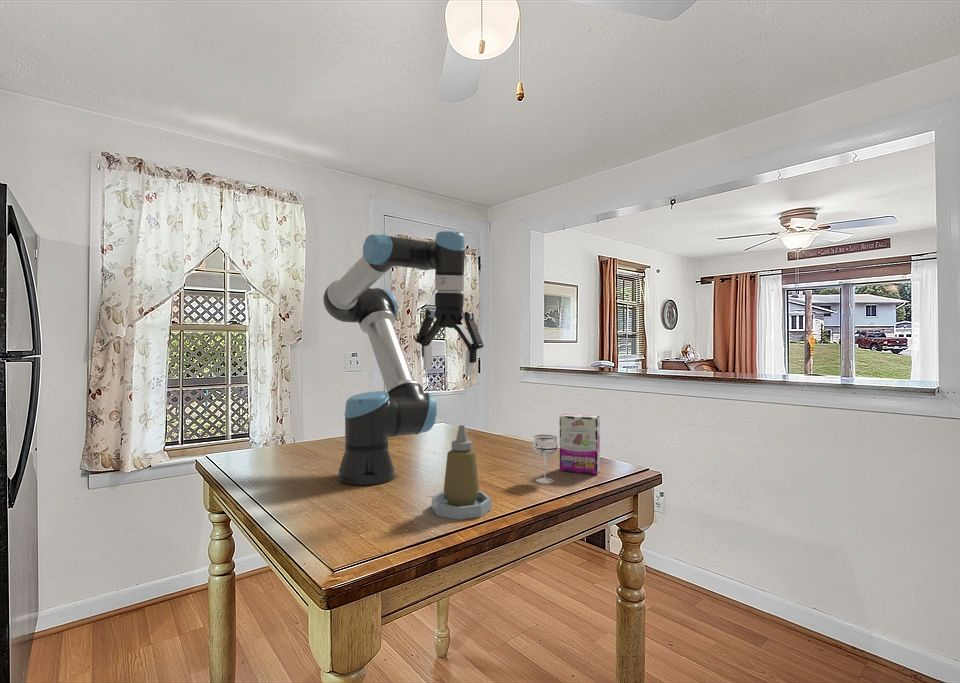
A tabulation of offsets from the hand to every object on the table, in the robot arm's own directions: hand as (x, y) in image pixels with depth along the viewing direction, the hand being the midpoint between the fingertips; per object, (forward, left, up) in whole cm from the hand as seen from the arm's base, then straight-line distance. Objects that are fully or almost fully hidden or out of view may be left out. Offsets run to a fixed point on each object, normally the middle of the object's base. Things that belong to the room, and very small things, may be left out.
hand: (448, 372), depth 131 cm
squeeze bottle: (+12, -15, -29) cm, 35 cm away
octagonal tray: (+12, -15, -30) cm, 36 cm away
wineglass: (+22, +15, -30) cm, 40 cm away
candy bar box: (+28, +29, -30) cm, 50 cm away
